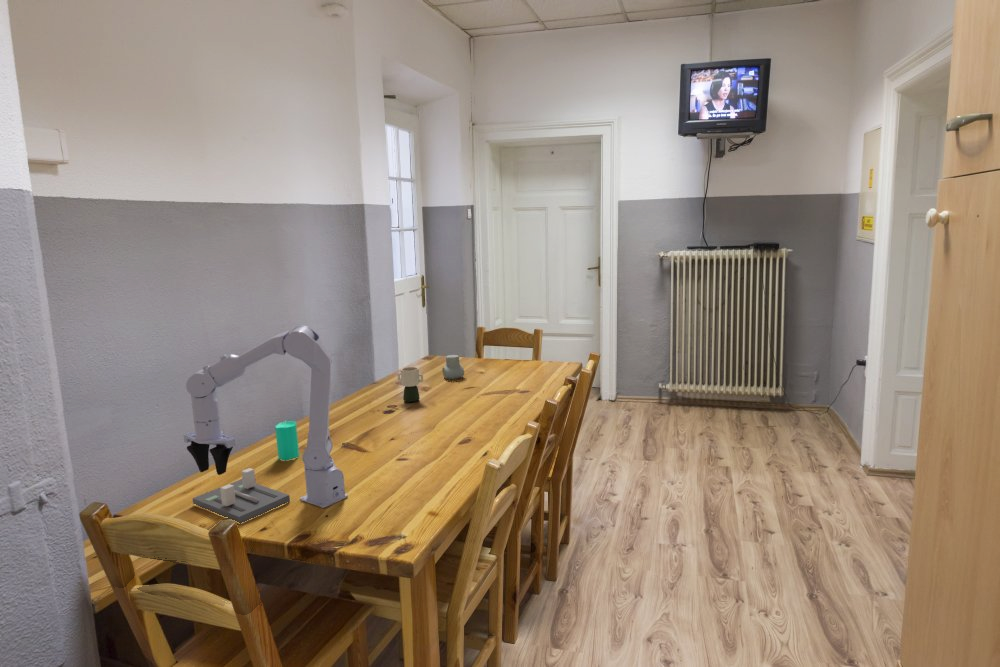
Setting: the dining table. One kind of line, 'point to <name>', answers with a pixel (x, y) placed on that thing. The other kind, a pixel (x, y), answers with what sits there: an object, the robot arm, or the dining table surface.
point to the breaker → (248, 478)
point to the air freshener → (453, 368)
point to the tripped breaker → (227, 495)
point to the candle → (287, 440)
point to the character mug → (410, 383)
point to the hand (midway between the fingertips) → (213, 472)
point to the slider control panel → (243, 501)
